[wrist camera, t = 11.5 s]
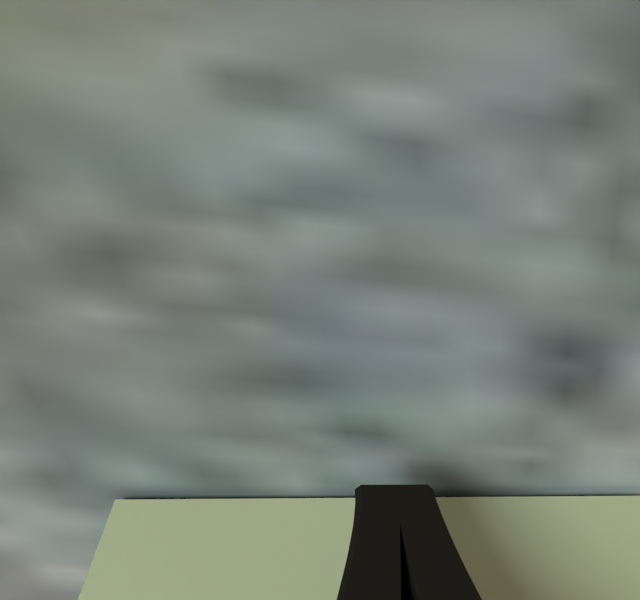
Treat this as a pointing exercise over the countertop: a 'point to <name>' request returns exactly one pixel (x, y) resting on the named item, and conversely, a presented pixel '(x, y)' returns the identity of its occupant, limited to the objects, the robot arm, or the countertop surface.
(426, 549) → the robot arm
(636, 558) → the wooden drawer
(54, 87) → the countertop surface
